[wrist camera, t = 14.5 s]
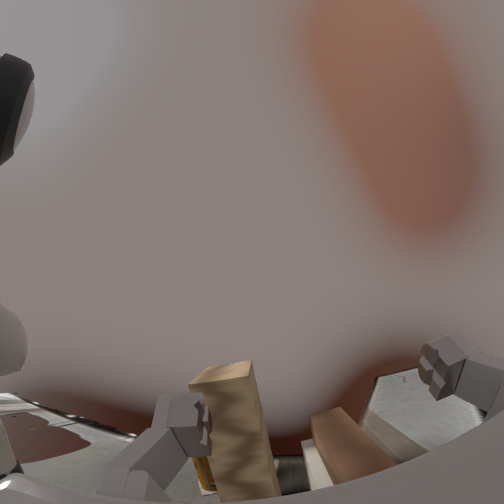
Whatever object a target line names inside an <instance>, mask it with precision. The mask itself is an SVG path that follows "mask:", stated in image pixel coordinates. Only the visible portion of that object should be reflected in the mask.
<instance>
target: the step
mask: <svg viewBox="0 0 504 504" xmlns="http://www.w3.org/2000/svg"><path fill="white" fill-rule="evenodd" d="M301 444H302V449H303V455H304V460H305V465H306V470H307V476H308V481H309V486H310V491H312V490H317V489H321V488H325V487H329V486H333V483H332V481H331V479H330V477H329V474H328V472H327V470H326V468H325V466H324V464H323V462H322V459H321V457H320V455H319V453H318V451H317V449H316V446H315V444H314V442H313V439H310V440H305V441H301Z"/></svg>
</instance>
